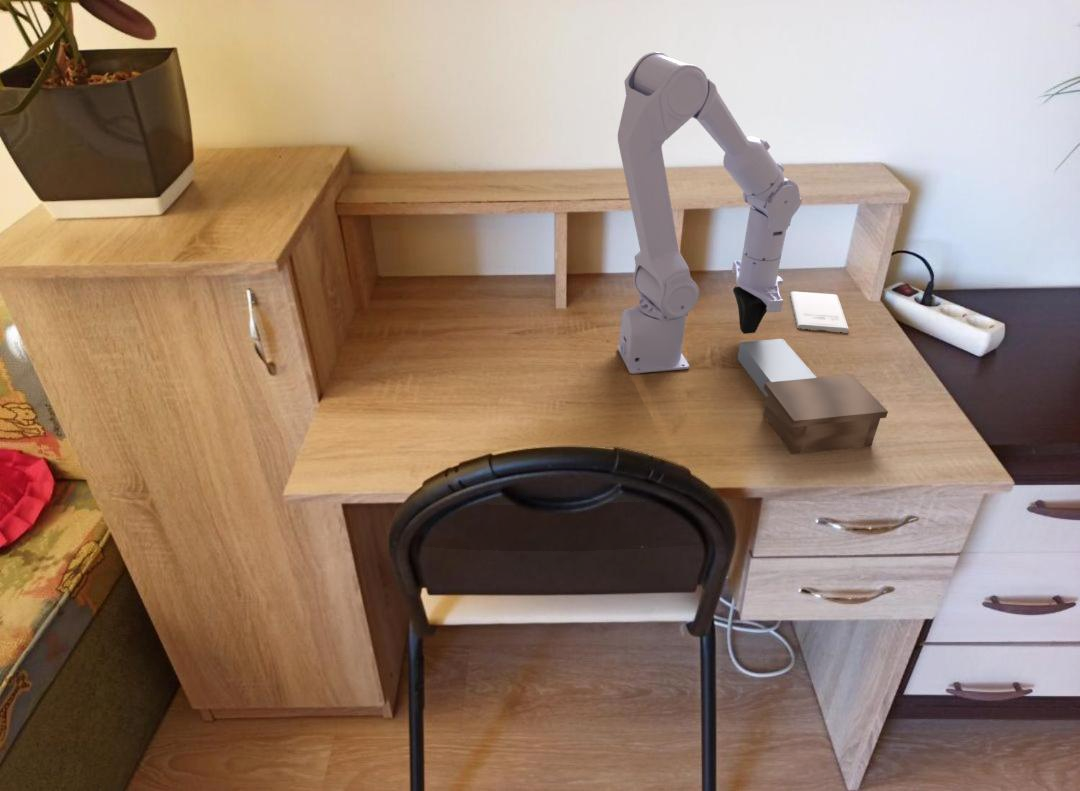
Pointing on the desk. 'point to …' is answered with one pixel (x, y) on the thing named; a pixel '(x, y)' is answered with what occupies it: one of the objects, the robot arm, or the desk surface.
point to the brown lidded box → (822, 413)
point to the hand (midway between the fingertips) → (747, 331)
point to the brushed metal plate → (771, 362)
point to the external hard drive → (818, 312)
